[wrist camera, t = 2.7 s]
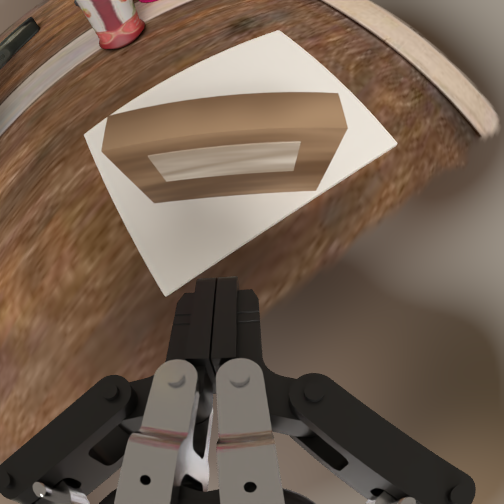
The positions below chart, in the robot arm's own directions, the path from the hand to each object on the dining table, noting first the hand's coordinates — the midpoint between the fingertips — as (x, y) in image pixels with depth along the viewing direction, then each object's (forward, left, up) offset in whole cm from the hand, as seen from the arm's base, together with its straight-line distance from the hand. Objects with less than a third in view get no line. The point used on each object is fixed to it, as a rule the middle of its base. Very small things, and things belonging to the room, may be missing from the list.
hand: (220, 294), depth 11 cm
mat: (-13, +8, -13) cm, 20 cm away
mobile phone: (-64, -14, -13) cm, 67 cm away
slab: (-8, +5, -12) cm, 15 cm away
